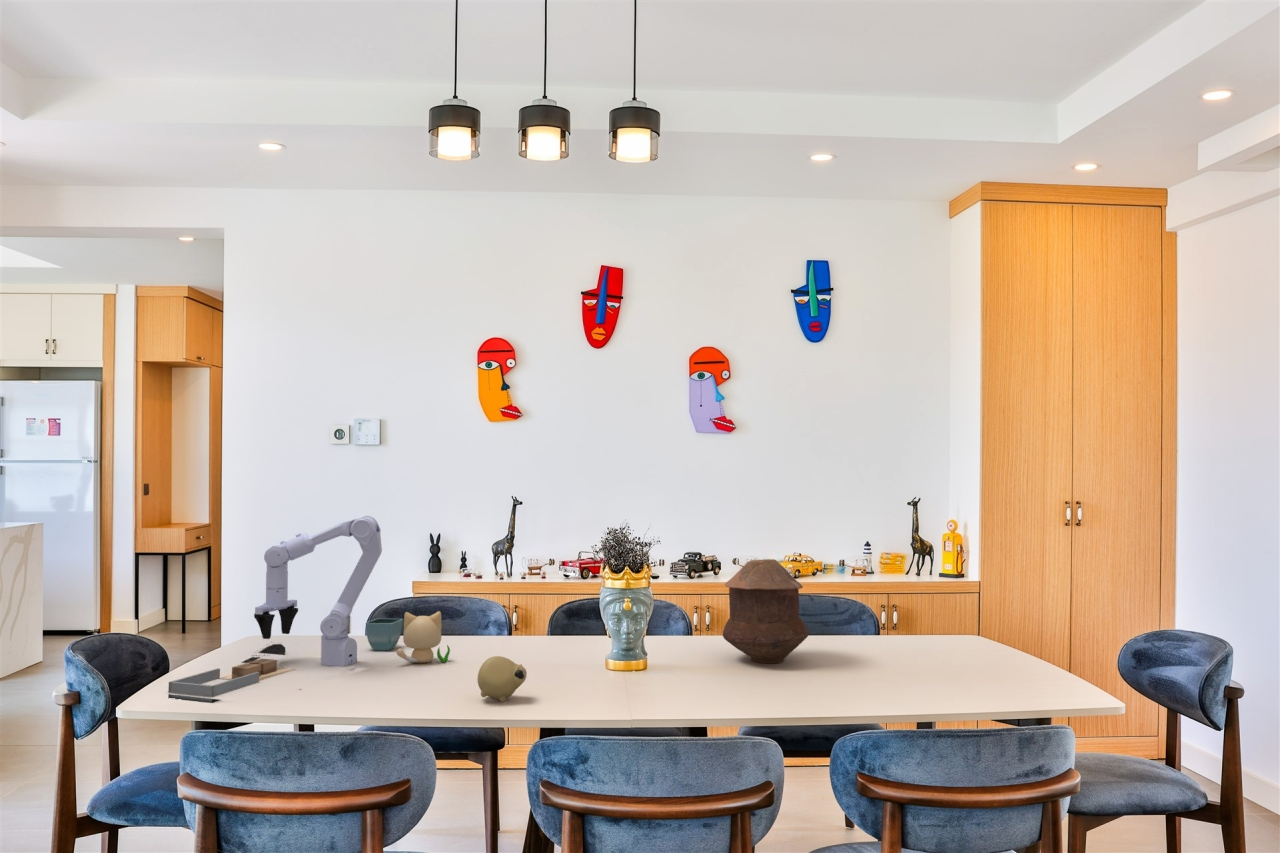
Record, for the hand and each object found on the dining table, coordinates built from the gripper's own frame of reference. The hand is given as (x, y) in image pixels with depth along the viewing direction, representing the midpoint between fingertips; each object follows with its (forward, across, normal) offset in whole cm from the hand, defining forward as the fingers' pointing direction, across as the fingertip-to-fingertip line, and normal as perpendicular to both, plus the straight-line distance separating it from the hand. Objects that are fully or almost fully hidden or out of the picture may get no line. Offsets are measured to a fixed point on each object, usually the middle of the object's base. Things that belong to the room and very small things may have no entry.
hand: (276, 636), depth 250 cm
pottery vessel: (+11, -59, +128) cm, 142 cm away
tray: (+9, +26, +4) cm, 28 cm away
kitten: (+10, -23, +34) cm, 42 cm away
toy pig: (+10, +7, +75) cm, 76 cm away
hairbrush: (+10, -7, -12) cm, 17 cm away
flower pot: (+10, -34, +12) cm, 38 cm away
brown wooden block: (+8, +9, +4) cm, 12 cm away
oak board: (+9, +10, +4) cm, 14 cm away
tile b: (+8, +15, +4) cm, 17 cm away
